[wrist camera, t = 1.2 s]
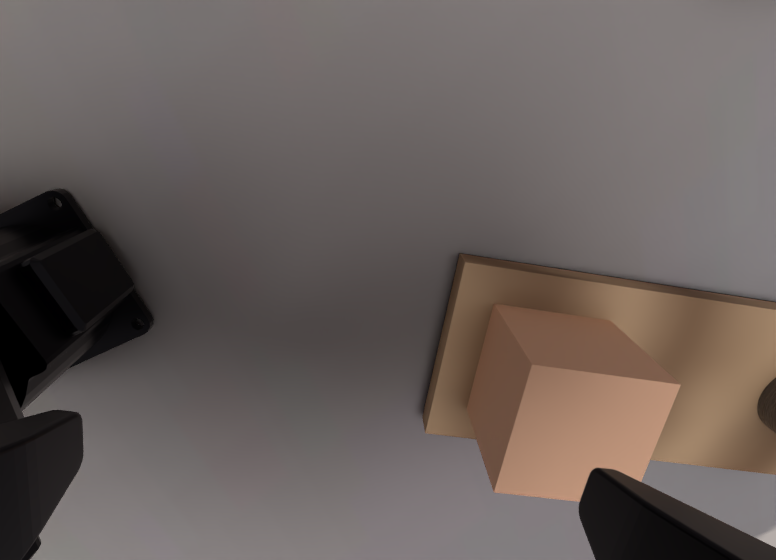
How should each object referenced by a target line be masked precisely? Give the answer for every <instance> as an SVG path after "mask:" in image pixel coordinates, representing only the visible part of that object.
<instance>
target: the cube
mask: <svg viewBox="0 0 776 560" xmlns="http://www.w3.org/2000/svg"><path fill="white" fill-rule="evenodd" d="M680 386H681V384H680V383H679V382H677V381H676V380H675V379H674V378H673V377H672V376H671V375H670V374H669V373H668V372H666V371H665V370H664V369H663V368H662V367H661V366H660V365H659V364H658V363H657V362H656V361H654V360H653V359H652V358H651V357H650V356H649V355H648V354H647V353H646V352H645V351H643V350H642V349H641V348H640V347H639V346H638V345H637V344H636V343H635V342H634V341H632V340H631V339H630V338H629V337H628V336H627V335H626V334H625V333H624V332H623V331H621V330H620V329H619V328H618V327H617V326H616V325H615V324H614V323H613V322H612V321H610V320H603V319H596V318H589V317H582V316H576V315H569V314H562V313H555V312H548V311H541V310H535V309H528V308H521V307H514V306H507V305H500V304H494V305H493V308H492V312H491V316H490V320H489V324H488V328H487V332H486V336H485V339H484V343H483V347H482V351H481V355H480V359H479V363H478V366H477V370H476V374H475V378H474V382H473V386H472V390H471V393H470V397H469V401H468V405H467V412H468V415H469V418H470V421H471V424H472V427H473V430H474V433H475V436H476V439H477V442H478V445H479V448H480V451H481V454H482V458H483V461H484V464H485V467H486V470H487V473H488V476H489V479H490V482H491V485H492V488H493V491H494V492H495V493H505V494H514V495H523V496H532V497H542V498H551V499H560V500H569V501H579V502H580V499H581V496H582V494H583V491H584V488H585V485H586V482H587V480H588V477H589V474H590V472H591V471H592V470H593V469H594V468H607V469H614V470H617V471H619V472H622V473H624V474H626V475H628V476H630V477H632V478H634V479H636V480H638V481H640V482H641V481H642V478H643V476H644V473H645V471H646V468H647V466H648V464H649V461H650V459H651V456H652V454H653V451H654V449H655V447H656V444H657V442H658V439H659V437H660V434H661V432H662V430H663V427H664V425H665V422H666V420H667V417H668V415H669V413H670V410H671V408H672V405H673V403H674V400H675V398H676V396H677V393H678V391H679V388H680Z"/></svg>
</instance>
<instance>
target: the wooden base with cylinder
mask: <svg viewBox="0 0 776 560" xmlns="http://www.w3.org/2000/svg"><path fill="white" fill-rule="evenodd" d="M494 304H500V305H507V306H514V307H521V308H528V309H535V310H541V311H548V312H555V313H562V314H569V315H576V316H582V317H589V318H596V319H603V320H610V321H612V322H613V323H614V324H615V325H616V326H617V327H618V328H619V329H620V330H621V331H623V332H624V333H625V334H626V335H627V336H628V337H629V338H630V339H631V340H632V341H634V342H635V343H636V344H637V345H638V346H639V347H640V348H641V349H642V350H643V351H645V352H646V353H647V354H648V355H649V356H650V357H651V358H652V359H653V360H654V361H656V362H657V363H658V364H659V365H660V366H661V367H662V368H663V369H664V370H665V371H666V372H668V373H669V374H670V375H671V376H672V377H673V378H674V379H675V380H676V381H677V382H679V383H680V384H681V386H680V388H679V391H678V393H677V396H676V398H675V400H674V403H673V405H672V408H671V410H670V413H669V415H668V417H667V420H666V422H665V425H664V427H663V430H662V432H661V434H660V437H659V439H658V442H657V444H656V447H655V449H654V451H653V454H652V456H651V459H650V460H656V461H665V462H673V463H682V464H690V465H699V466H707V467H715V468H724V469H732V470H741V471H749V472H758V473H766V474H774V475H776V302H770V301H763V300H757V299H750V298H744V297H737V296H731V295H724V294H718V293H712V292H705V291H699V290H692V289H686V288H679V287H673V286H666V285H660V284H653V283H647V282H641V281H634V280H628V279H621V278H615V277H608V276H602V275H595V274H589V273H583V272H576V271H570V270H563V269H557V268H550V267H544V266H537V265H531V264H525V263H518V262H512V261H505V260H499V259H492V258H486V257H479V256H473V255H466V254H459V259H458V263H457V268H456V272H455V276H454V281H453V285H452V290H451V294H450V298H449V303H448V307H447V312H446V316H445V320H444V325H443V329H442V333H441V338H440V342H439V347H438V351H437V355H436V360H435V364H434V369H433V373H432V377H431V382H430V386H429V391H428V395H427V399H426V404H425V408H424V413H423V423H424V428H425V433H428V434H437V435H445V436H454V437H462V438H471V439H476V436H475V433H474V430H473V427H472V424H471V421H470V418H469V415H468V412H467V405H468V401H469V397H470V393H471V390H472V386H473V382H474V378H475V374H476V370H477V366H478V363H479V359H480V355H481V351H482V347H483V343H484V339H485V336H486V332H487V328H488V324H489V320H490V316H491V312H492V308H493V305H494Z"/></svg>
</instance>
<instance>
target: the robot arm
mask: <svg viewBox="0 0 776 560" xmlns="http://www.w3.org/2000/svg"><path fill="white" fill-rule="evenodd" d="M54 197H56V198H58V199H59V200H60V201H61V203H62V206H61V208H59V207H57V206H56V205H55V204H54ZM133 285H134V283H133V282H132V280H131V279H130V277H129V276H128V274H127V273H126V271H125V270H124V268H123V267H122V265H121V264H120V262H119V261H118V259H117V258H116V256H115V255H114V253H113V252H112V250H111V249H110V247H109V246H108V244H107V243H106V241H105V240H104V238H103V237H102V235H101V234H100V233H99V232H98V231H96V230H94V229H93V227H92V226H91V224H90V223H89V221H88V220H87V218H86V217H85V215H84V214H83V212H82V211H81V210H80V208H79V207H78V205H77V204H76V202H75V201H74V199H73V198H72V196H71V195H70V194H69V193H68V192H66V191H65V190H63V189H54V190H50V191H47V192H45V193H43V194H41V195H39V196H37V197H35V198H33V199H31V200H29V201H26V202H24V203H22V204H20V205H18V206H16V207H14V208H12V209H10V210H8V211H6V212H4V213H2V214H0V560H30V559H31V558H32V557H33V555H34V554H35V553H36V551H37V550H38V549H39V547H40V545H41V540H40V538H39V534H40V533H41V531H42V529H43V528H44V526H45V525H46V523H47V521H48V520H49V518H50V516H51V515H52V513H53V511H54V510H55V508H56V506H57V505H58V503H59V502H60V500H61V498H62V497H63V495H64V493H65V492H66V490H67V488H68V487H69V485H70V484H71V482H72V480H73V479H74V477H75V475H76V474H77V472H78V470H79V468H80V466H81V463H82V459H83V426H82V418H81V415H80V414H79V413H77V412H72V411H63V410H52V411H48V412H44V413H40V414H36V415H33V416H29V417H25V418H24V416H23V413H22V411H23V410H24V409H25V408H26V407H27V406H28V405H29V404H30V403H31V402H32V401H33V400H35V399H36V398H37V397H38V396H39V395H40V394H41V393H42V392H43V391H44V390H45V389H46V388H47V387H49V386H50V385H51V384H52V383H53V382H54V381H55V380H56V379H57V378H58V377H59V376H60V375H62V374H63V373H64V372H65V371H66V370H67V369H68V368H70V367H72V366H74V365H77V364H79V363H81V362H83V361H85V360H88V359H90V358H92V357H94V356H97V355H99V354H101V353H103V352H105V351H108V350H110V349H112V348H114V347H117V346H119V345H121V344H123V343H125V342H128V341H130V340H132V339H134V338H136V337H139V336H141V335H143V334H145V333H146V332H148V331H149V330H150V328H151V327H152V325H153V321H154V319H153V317H152V315H151V313H150V312H149V311H148V309H147V308H146V306H145V305H144V303H143V302H142V300H141V299H140V297H139V296H138V294H137V293H136V291H135V290H134V288H133ZM136 318H138V319H141V320H142V321H143V323H144V325H143V326H141V325H138V324H137V323H136V321H135V319H136ZM579 516H580V520H581V522H582V525H583V528H584V530H585V533H586V536H587V538H588V541H589V544H590V546H591V549H592V551H593V554H594V557H595V559H596V560H776V548H775V547H773V546H771V545H769V544H766V543H765V542H763V541H761V540H759V539H756V538H754V537H752V536H750V535H748V534H746V533H744V532H742V531H740V530H738V529H736V528H734V527H732V526H730V525H728V524H726V523H724V522H722V521H720V520H718V519H716V518H714V517H712V516H709V515H707V514H705V513H703V512H701V511H699V510H697V509H695V508H693V507H691V506H689V505H687V504H685V503H683V502H681V501H679V500H677V499H675V498H673V497H671V496H669V495H667V494H664V493H662V492H660V491H658V490H656V489H654V488H652V487H650V486H648V485H646V484H644V483H642V482H640V481H638V480H636V479H634V478H632V477H630V476H628V475H626V474H624V473H622V472H619V471H617V470H614V469H607V468H594V469H593V470H592V471H591V472H590V474H589V477H588V480H587V482H586V485H585V488H584V491H583V494H582V496H581V499H580V503H579Z"/></svg>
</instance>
